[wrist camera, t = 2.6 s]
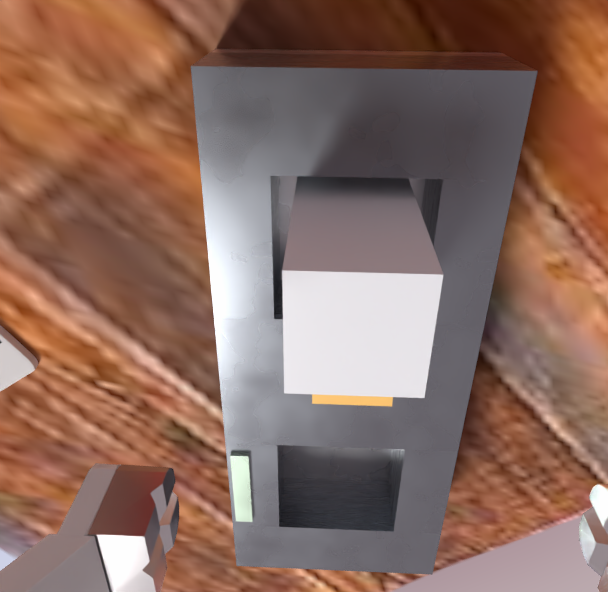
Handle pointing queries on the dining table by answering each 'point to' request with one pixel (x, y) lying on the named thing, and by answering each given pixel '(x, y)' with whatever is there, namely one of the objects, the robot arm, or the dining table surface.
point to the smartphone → (14, 360)
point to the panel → (269, 295)
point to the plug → (358, 292)
